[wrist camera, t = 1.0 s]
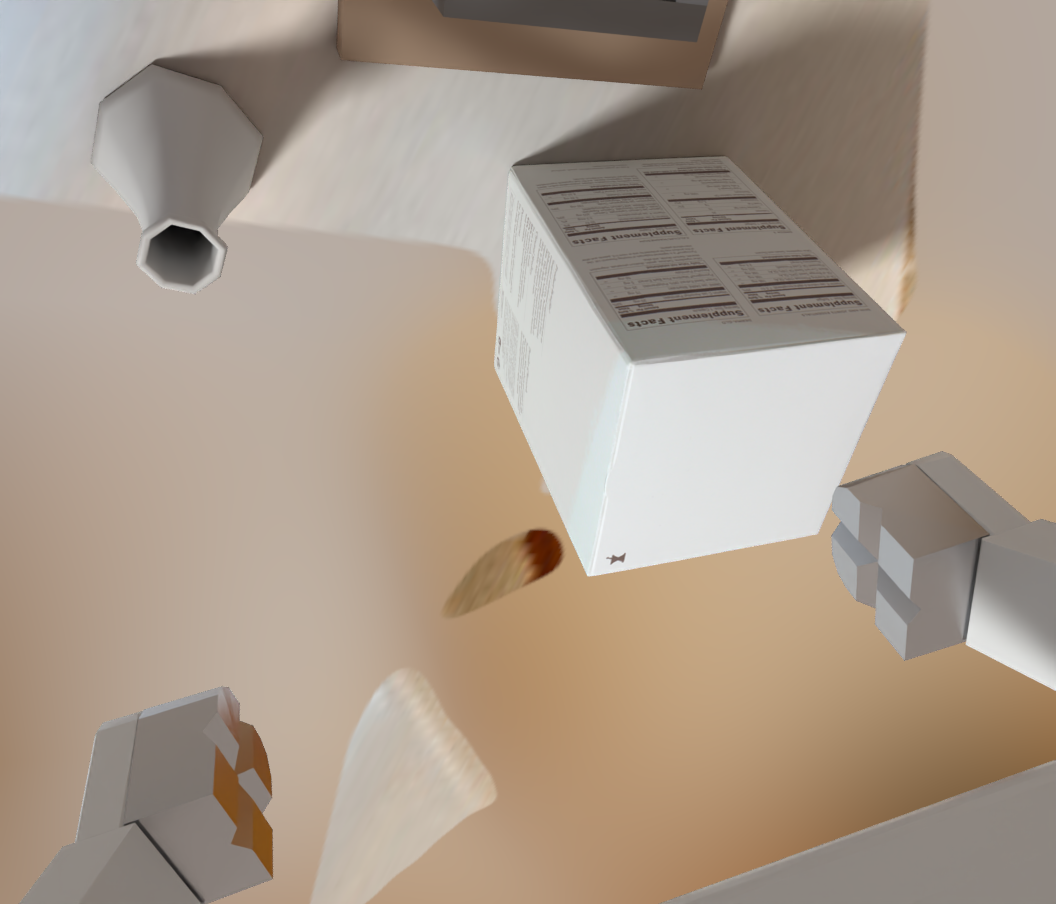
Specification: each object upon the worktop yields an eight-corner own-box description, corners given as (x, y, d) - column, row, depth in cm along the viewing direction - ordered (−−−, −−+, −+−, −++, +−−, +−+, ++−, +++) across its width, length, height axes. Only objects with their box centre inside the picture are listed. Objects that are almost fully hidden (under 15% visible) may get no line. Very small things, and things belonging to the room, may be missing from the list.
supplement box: (683, 346, 59) (820, 539, 47) (490, 367, 55) (584, 583, 43) (731, 151, 50) (916, 328, 38) (504, 162, 46) (628, 361, 34)
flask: (290, 130, 42) (316, 234, 35) (209, 244, 45) (218, 362, 38) (141, 30, 37) (137, 127, 31) (61, 164, 40) (40, 282, 33)
